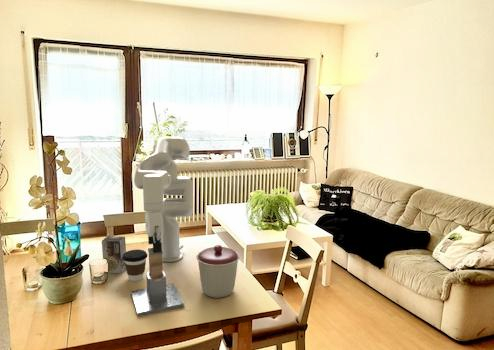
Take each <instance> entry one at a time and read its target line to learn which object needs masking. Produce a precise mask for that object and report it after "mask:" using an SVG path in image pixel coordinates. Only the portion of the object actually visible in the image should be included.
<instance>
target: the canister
mask: <svg viewBox="0 0 494 350" xmlns="http://www.w3.org/2000/svg"><path fill="white" fill-rule="evenodd" d="M240 256H241V255H240V254H239V252H237V251H236V250H234V249H233V248H229V247H225V246H222V245H219V244H217V245H215V246H213V247H209V248H205V249H203V250H201V251H199V252H197V254H196V256H195V257H196V260H197V262H198V269H199V270H198V271H199V278H200V283H201V284H200V285H201V289H202V291H203V293H204V294H205V295H206V296H208V297H210V298H214V299H215V298H216V299H218V298H220V299H221V298H224V297H225V298H226V297H228V296H230V295H232V293H233V292H234V289H235V285H236V277H237V272H238V271H237V269H238V265H239V264H238V261H239V260H240Z"/></svg>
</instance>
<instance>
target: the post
mask: <svg viewBox="0 0 494 350" xmlns="http://www.w3.org/2000/svg"><path fill="white" fill-rule="evenodd" d="M147 250H148V272H149V276H150V278H156V277H161V276H163V271H164V269H163V263H164V262H162V254H163V251H162V252H157V253H153V247H150V248H147Z"/></svg>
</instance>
